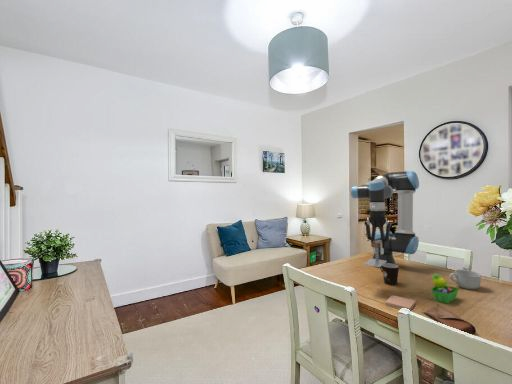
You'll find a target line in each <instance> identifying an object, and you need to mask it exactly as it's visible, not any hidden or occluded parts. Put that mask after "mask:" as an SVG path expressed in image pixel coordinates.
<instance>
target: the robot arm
mask: <svg viewBox="0 0 512 384" xmlns="http://www.w3.org/2000/svg"><path fill="white" fill-rule="evenodd" d="M419 187H420V181H419V177H418V174H417V173H416V171H414V170H412V171H411V170H410V171H408V170H406V171H392V172H387V173H384V174H381V175H379V176H376V177H375V178H374V179H373V180H370V181H369V182H367V183H364V184H362V185H353V186H352V187H351V189H350V195H351V197H352V198H353V199H369V219H368V220H367V221H364V225H365V229H366V237H367V240H368V241H370V242H371V243H370V245H371V247H372V242H374V241H376V240H382V241H381V242H380V247H379V248H378V253H379V260H385V261H387V262H386V263H390V264H396V265H397V263H396V260H395V257H394V255H393V253H401V254H405V255H407V254H408V255H414V254H416V253H417V251H418V248H419V244H420V242H419V241H420V240H419V237H418V236H417V235H416V233H415V231H414V230H413V229H414V228H413V226H414V225H413V222H414V221H413V220H414V219H413V216H414V212H413V211H414V207H413V206H414V205H413V204H414V194H415V193H416V191H417V189H419ZM394 190H395V192H396V194H397V230H395V232H394V233H393V232H392V231H391V226H392V222H389V221H388V220H387V219H386V200H385V199H389V198H391V197H392V196H393V194H394ZM370 225H371V226H370ZM384 226H386V229H385V231H384ZM377 228H378V230H379V232H377ZM372 250H373V251H372V253H373V255H372V259H376V257H375V247H372ZM378 268H379V269H380V267H378ZM381 269H382V266H381Z"/></svg>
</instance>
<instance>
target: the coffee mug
mask: <svg viewBox="0 0 512 384" xmlns="http://www.w3.org/2000/svg"><path fill="white" fill-rule="evenodd" d="M399 268H400V266H399V264H397V263H396V264H390V263H385V264H384V265H382V268H381V267H380V268H379V269H380V271H381V273H382V276H383V283H384V284H386V285H388V286H397V285H398V279H399Z"/></svg>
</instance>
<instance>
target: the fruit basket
mask: <svg viewBox="0 0 512 384" xmlns="http://www.w3.org/2000/svg"><path fill="white" fill-rule="evenodd" d="M432 284H433V286H434V287H431V289H430V291H431V292H432V295H433V298H434V301H437V302H441V303H444V304H450V303H451V302H452V301H454V300H456V297H457V295H458V292H459V288H458V287H455V286H451V285H447V281H446V280H445V278H443V277H442V276H441V275H439V274H437V273H434V274H433V276H432Z"/></svg>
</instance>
